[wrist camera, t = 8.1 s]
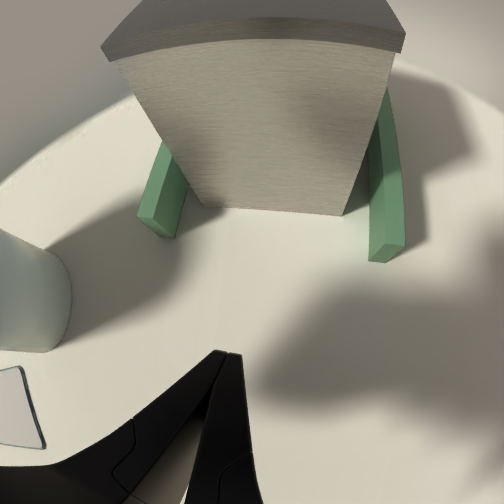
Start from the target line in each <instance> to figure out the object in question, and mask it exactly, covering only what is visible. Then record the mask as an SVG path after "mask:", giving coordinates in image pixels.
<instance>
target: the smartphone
mask: <svg viewBox="0 0 504 504" xmlns="http://www.w3.org/2000/svg"><path fill="white" fill-rule="evenodd" d="M0 444H2V445H8V446H15V447H22V448H30V449H40V450H43V449H45V447H46V444H45V441H44V438H43V436H42V433H41V430H40V427H39V424H38V421H37V418H36V415H35V411H34V408H33V405H32V401H31V398H30V394H29V390H28V386H27V382H26V378H25V373H24V370H23V368H22V367H20V366H15V367H11V368H7V369H3V370H0Z"/></svg>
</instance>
